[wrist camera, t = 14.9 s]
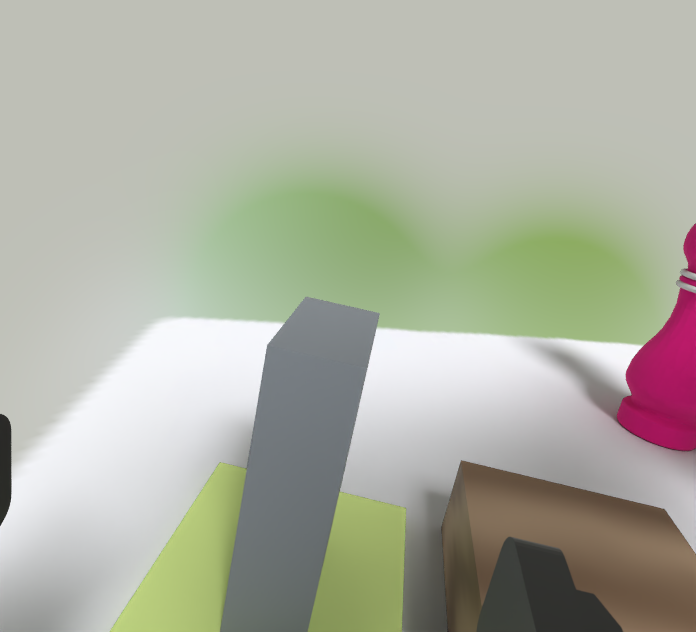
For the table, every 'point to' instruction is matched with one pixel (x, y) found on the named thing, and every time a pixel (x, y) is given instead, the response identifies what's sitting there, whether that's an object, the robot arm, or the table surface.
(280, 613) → the tall gray post
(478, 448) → the table surface
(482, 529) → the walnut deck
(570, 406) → the table surface
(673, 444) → the pepper mill
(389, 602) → the green mat
